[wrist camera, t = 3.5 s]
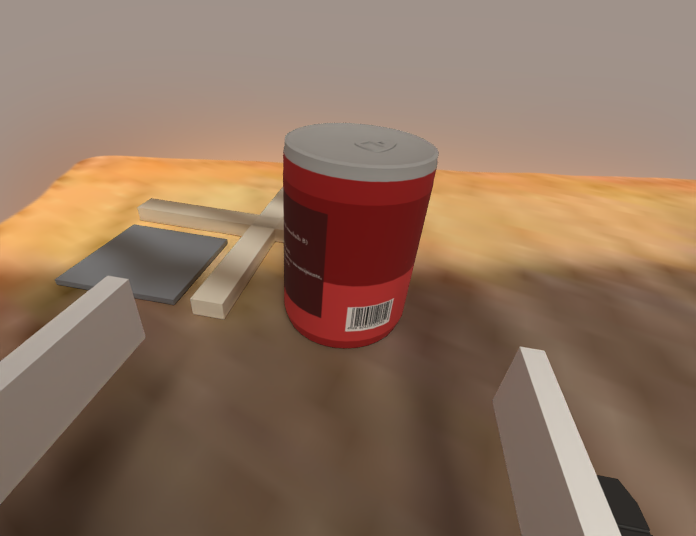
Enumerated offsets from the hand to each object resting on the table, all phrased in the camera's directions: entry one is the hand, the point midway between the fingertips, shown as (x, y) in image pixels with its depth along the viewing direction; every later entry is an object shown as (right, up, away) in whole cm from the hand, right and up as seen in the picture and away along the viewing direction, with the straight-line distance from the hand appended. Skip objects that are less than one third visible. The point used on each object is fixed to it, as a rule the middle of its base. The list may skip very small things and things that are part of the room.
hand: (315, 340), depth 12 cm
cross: (-6, +5, +19) cm, 21 cm away
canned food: (+1, 0, +12) cm, 12 cm away
